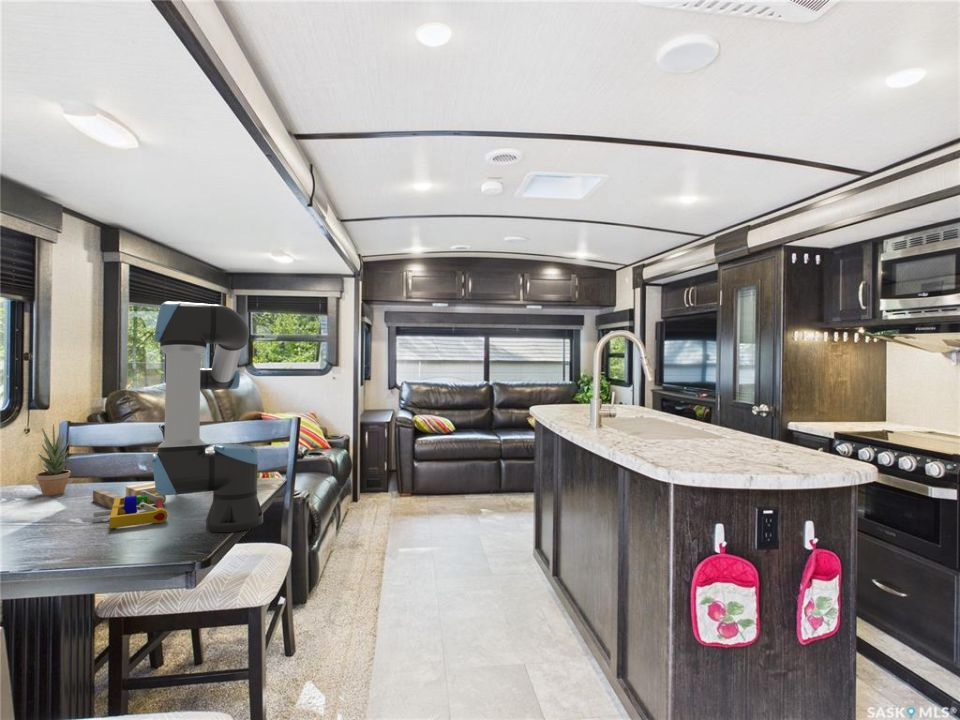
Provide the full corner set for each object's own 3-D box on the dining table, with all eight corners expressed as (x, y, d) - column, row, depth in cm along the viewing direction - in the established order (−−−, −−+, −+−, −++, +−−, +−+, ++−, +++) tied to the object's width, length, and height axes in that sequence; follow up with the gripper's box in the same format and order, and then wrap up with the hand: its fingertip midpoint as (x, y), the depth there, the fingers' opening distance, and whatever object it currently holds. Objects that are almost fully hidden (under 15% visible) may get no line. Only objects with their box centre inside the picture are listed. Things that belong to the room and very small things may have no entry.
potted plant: (29, 494, 180) (30, 423, 181) (60, 489, 189) (61, 421, 189) (46, 498, 177) (48, 425, 177) (77, 492, 185) (78, 422, 186)
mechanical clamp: (165, 481, 176) (167, 501, 151) (165, 499, 176) (167, 523, 151) (98, 487, 166) (89, 510, 141) (98, 507, 166) (89, 533, 141)
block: (165, 497, 182) (165, 485, 182) (135, 502, 174) (136, 490, 174) (154, 492, 187) (154, 481, 187) (125, 497, 180) (125, 486, 180)
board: (124, 508, 166) (124, 497, 166) (115, 510, 164) (115, 499, 164) (101, 499, 176) (101, 489, 176) (92, 500, 174) (93, 490, 174)
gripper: (192, 402, 196) (191, 465, 196) (155, 404, 185) (153, 470, 185) (202, 404, 191) (201, 468, 192) (165, 406, 181) (163, 474, 181)
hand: (177, 469), depth 188 cm, fingers closed
